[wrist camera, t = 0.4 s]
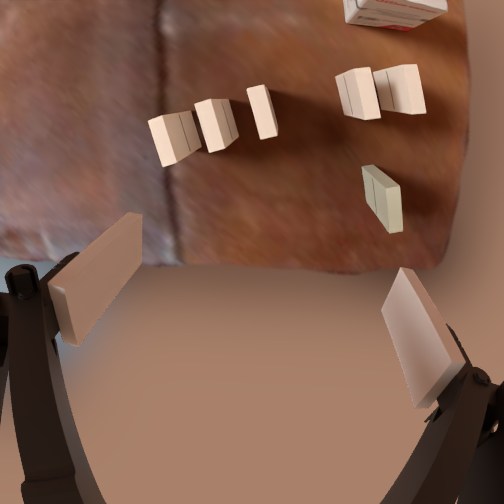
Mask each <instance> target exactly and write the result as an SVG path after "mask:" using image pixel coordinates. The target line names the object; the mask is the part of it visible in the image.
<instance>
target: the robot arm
mask: <svg viewBox="0 0 504 504" xmlns="http://www.w3.org/2000/svg"><path fill="white" fill-rule="evenodd" d="M141 263H142V214H136V213H131V212H128V213H127V214H126V215H125V216H123V217H122V218H121V219H120V220H118V221H117V222H116V223H115V224H113V225H112V226H111V227H110V228H109V229H107V230H106V231H105V232H104V233H103V234H101V235H100V236H99V237H98V238H97V239H96V240H94V241H93V242H92V243H91V244H90V245H89V246H87V247H86V248H85V249H84V250H83V251H82V252H81V253H80V252H74V253H72V254H70V255H68V256H66V257H65V258H64V259H63V260H61V261H60V262H59V264H57V265H56V266H55V267H54V269H51V270H50V271H49V272H48V273H47V274H46V275H45V276H44V277H43V278H42V279H41V280H39V278H38V274H37V270H36V268H35V267H34V266H33V265H29V264H22V265H18V266H15V267H13V268H11V269H10V270H9V271H8V272H7V273H6V275H5V280H6V284H7V287H8V291H9V293H2V292H0V422H1V414H2V406H3V399H4V393H5V387H6V381H7V376H8V371H9V380H10V392H11V403H12V411H13V418H14V425H15V432H16V437H17V443H18V448H19V453H20V457H21V462H22V466H23V470H24V475H25V481H24V482H23V483H22V484H21V493H22V497H23V501H24V504H106V502H105V501H104V499H103V497H102V495H101V492H100V490H99V488H98V486H97V483H96V481H95V478H94V476H93V474H92V471H91V469H90V466H89V463H88V461H87V458H86V455H85V452H84V450H83V447H82V444H81V441H80V438H79V435H78V432H77V428H76V425H75V422H74V418H73V415H72V412H71V408H70V405H69V400H68V396H67V392H66V388H65V384H64V379H63V375H62V370H61V365H60V360H59V354H58V349H57V343H56V340H55V336H56V335H57V333H58V332H59V331H60V333H61V337H62V339H63V342H66V343H68V344H70V345H73V346H75V347H79V346H80V345H81V343H82V342H83V341H84V339H85V338H86V336H87V335H88V333H89V332H90V331H91V329H92V328H93V326H94V325H95V324H96V322H97V321H98V320H99V318H100V317H101V315H102V314H103V313H104V311H105V310H106V309H107V307H108V306H109V305H110V303H111V302H112V301H113V299H114V298H115V297H116V295H117V294H118V293H119V291H120V290H121V289H122V287H123V286H124V285H125V284H126V282H127V281H128V280H129V278H130V277H131V276H132V275H133V273H134V272H135V271H136V269H137V268H138V267H139V266H140V265H141ZM381 311H382V314H383V316H384V319H385V322H386V325H387V327H388V330H389V333H390V336H391V338H392V341H393V344H394V347H395V350H396V352H397V356H398V358H399V361H400V364H401V367H402V371H403V374H404V377H405V380H406V383H407V386H408V390H409V393H410V396H411V399H412V403H413V406H414V408H429V407H430V406H431V405H432V403H433V402H434V401H435V400H436V399H437V401H438V404H439V406H438V407H437V408H436V409H435V410H434V411H433V413H432V414H431V415H430V416H429V417H428V418H427V419H426V420H425V421H424V422H427V421H428V420H430V421H429V423H428V425H427V427H426V429H425V431H424V433H423V435H422V436H421V438H420V440H419V442H418V444H417V446H416V448H415V449H414V451H413V453H412V455H411V456H410V458H409V460H408V462H407V463H406V465H405V467H404V468H403V470H402V472H401V473H400V475H399V476H398V478H397V479H396V481H395V482H394V484H393V486H392V487H391V488H390V490H389V491H388V493H387V494H386V496H385V497H384V499H383V500H382V502H381V503H380V504H455V502H456V500H457V498H458V501H457V504H504V381H503V382H502V383H501V385H500V386H499V385H496V384H493V383H491V380H490V378H489V376H488V375H487V373H486V372H485V371H483V370H482V369H480V368H478V367H473V366H472V364H471V362H470V360H469V358H468V356H467V355H466V353H465V351H464V349H463V348H462V347H461V343H460V341H458V338H457V336H456V334H455V333H454V331H453V330H452V329H451V328H450V327H449V326H448V325H447V324H445V322H444V320H443V319H442V317H441V315H440V313H439V312H438V310H437V308H436V307H435V305H434V304H433V302H432V300H431V298H430V297H429V295H428V293H427V292H426V290H425V289H424V287H423V285H422V284H421V282H420V281H419V279H418V277H417V276H416V274H415V273H414V271H413V270H411V269H407V268H402V267H400V270H399V272H398V274H397V277H396V279H395V281H394V283H393V286H392V288H391V290H390V292H389V294H388V296H387V299H386V301H385V303H384V305H383V307H382V309H381ZM497 424H498V428H497V430H496V431H495V432H494V427H495V426H496V425H497ZM458 495H459V496H458Z"/></svg>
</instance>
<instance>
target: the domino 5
mask: <svg viewBox="0 0 504 504" xmlns="http://www.w3.org/2000/svg"><path fill="white" fill-rule="evenodd" d="M373 74H374V78H375V83H376V87H377V92H378V96H379V101H380V106H381V110H387V111H394V112H401V113H407V114H423V113H426V108H425V102H424V96H423V91H422V86H421V81H420V76H419V72H418V68H417V64H409V65H399V66H395V67H391V68H387V69H383V70H379V71H375V72H373Z"/></svg>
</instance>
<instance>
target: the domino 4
mask: <svg viewBox="0 0 504 504" xmlns="http://www.w3.org/2000/svg"><path fill="white" fill-rule="evenodd" d="M335 78H336V82H337V86H338V90H339V94H340V98H341V103H342V107H343V112H344V115H347V116H352V117H356V118H360V119H363V120H369V119H376V118H381V116H380V110H379V105H378V100H377V96H376V91H375V87H374V82H373V78H372V74H371V70H370V67H366V68H356V69H352V70H350V71H347V72H345V73H342V74H340V75H338V76H335Z"/></svg>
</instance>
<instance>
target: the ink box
mask: <svg viewBox="0 0 504 504" xmlns="http://www.w3.org/2000/svg"><path fill="white" fill-rule="evenodd" d="M343 2H344V11H345V21H346V23H348V24H359V25H368V26H376V27H383V28H390V29H396V30H401V31H409V30H411V29H413V28H415V27H417V26H419V25H421V24H423V23H425V22H427V21H429V20H431V19H433V18H435V17H437V16H439V15H442V14H444V13H446V12H448V11H449V10H448V5H447V0H343Z"/></svg>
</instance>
